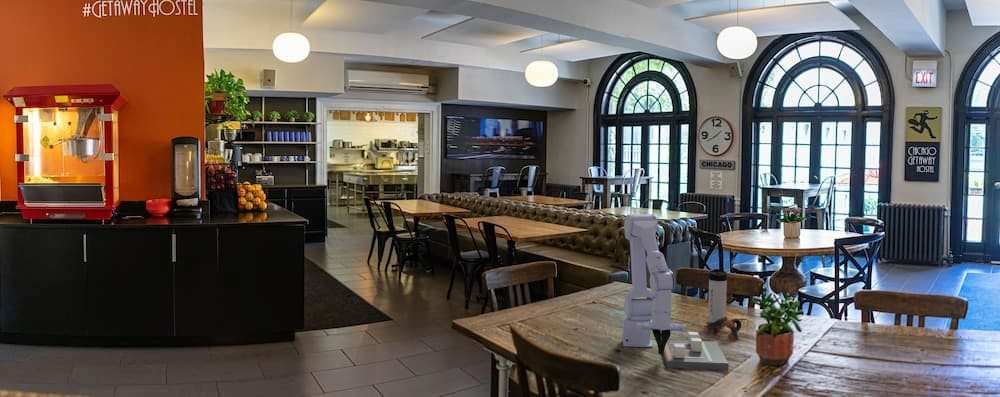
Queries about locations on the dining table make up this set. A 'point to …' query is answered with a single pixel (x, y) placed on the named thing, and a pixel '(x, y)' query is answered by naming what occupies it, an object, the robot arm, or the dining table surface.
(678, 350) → the block
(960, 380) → the dining table surface
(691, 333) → the block
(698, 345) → the block
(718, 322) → the pottery mug
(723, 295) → the travel mug
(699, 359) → the panel
